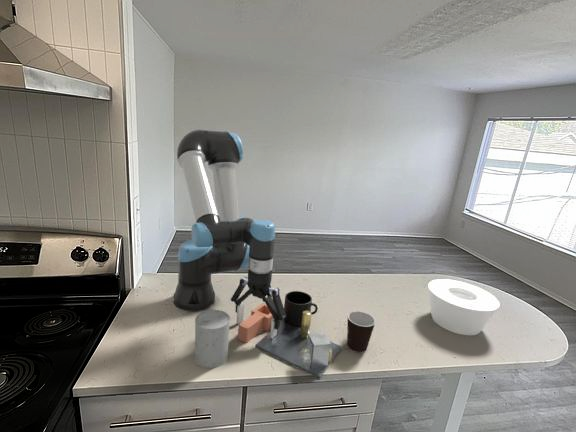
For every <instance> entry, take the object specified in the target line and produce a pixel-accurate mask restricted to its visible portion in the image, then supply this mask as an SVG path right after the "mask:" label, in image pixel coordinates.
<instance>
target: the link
mask: <svg viewBox="0 0 576 432" xmlns="http://www.w3.org/2000/svg"><path fill="white" fill-rule="evenodd" d="M250 312H251V313H250V316H249V317H247V318H246V319H245V320H243V321H242V322H240V323H239V324H238V329H237V330H238V331H237V340H240V341H241V342H244V343H245V344H247V343H249V342H250V341H251V340H252V339H254V338H255V337H256V336H257V335H259V333H261V332H262V331H266V332H269V331H271V322H272V319H273V316H272V314H271V312H270V311H269V309H268V307H267V305H266V303H265V302H262V303H261V304H259V305H258V306H256V307H255V308H254V309H252V310H251V311H250Z"/></svg>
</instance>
